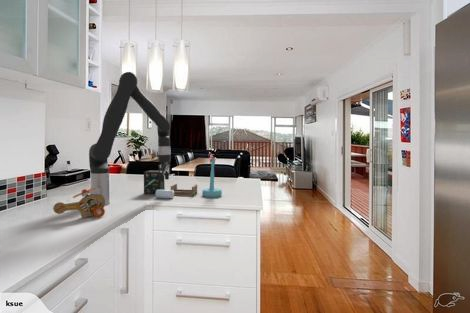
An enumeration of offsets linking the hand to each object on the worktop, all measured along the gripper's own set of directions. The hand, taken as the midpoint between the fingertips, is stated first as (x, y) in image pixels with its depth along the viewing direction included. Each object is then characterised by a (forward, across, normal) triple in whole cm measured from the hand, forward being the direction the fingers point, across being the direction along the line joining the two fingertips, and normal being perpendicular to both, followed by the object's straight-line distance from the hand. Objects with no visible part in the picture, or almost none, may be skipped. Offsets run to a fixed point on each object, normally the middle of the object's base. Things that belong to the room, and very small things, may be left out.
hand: (164, 180), depth 173 cm
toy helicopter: (+10, +46, -22) cm, 52 cm away
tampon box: (+11, -15, -12) cm, 22 cm away
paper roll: (+8, -1, 0) cm, 8 cm away
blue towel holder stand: (+12, -12, +27) cm, 32 cm away
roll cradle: (+11, -14, +8) cm, 19 cm away
